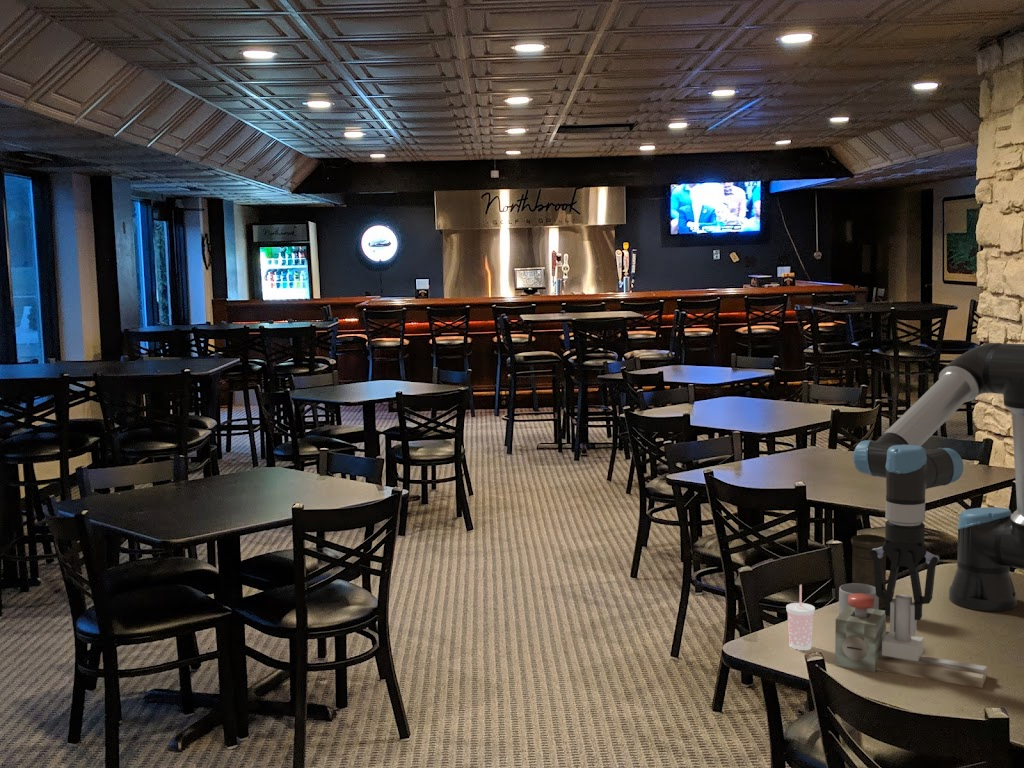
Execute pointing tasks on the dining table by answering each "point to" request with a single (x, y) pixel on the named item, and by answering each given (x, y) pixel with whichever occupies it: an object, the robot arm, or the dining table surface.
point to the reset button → (861, 603)
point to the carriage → (902, 634)
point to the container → (867, 561)
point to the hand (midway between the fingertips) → (903, 632)
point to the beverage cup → (800, 624)
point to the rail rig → (864, 652)
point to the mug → (856, 588)
